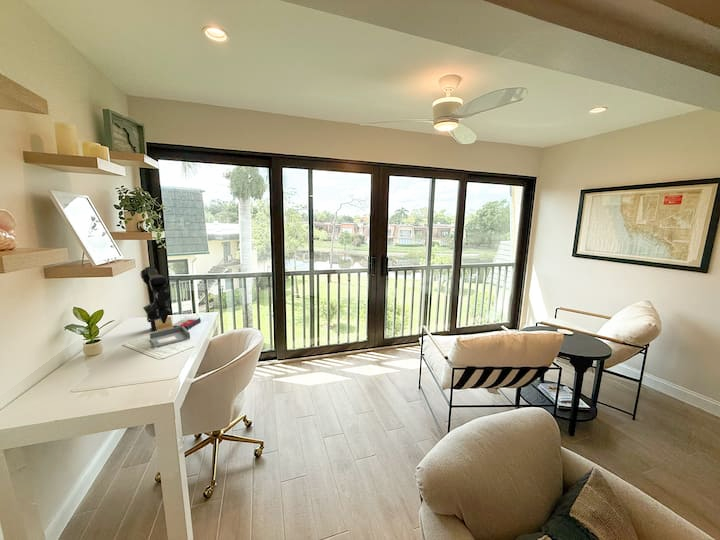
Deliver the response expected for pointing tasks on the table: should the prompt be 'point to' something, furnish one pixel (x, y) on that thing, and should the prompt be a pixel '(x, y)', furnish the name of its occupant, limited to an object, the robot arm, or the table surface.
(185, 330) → the arena
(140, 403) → the table surface
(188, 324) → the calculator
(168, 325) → the bracket
